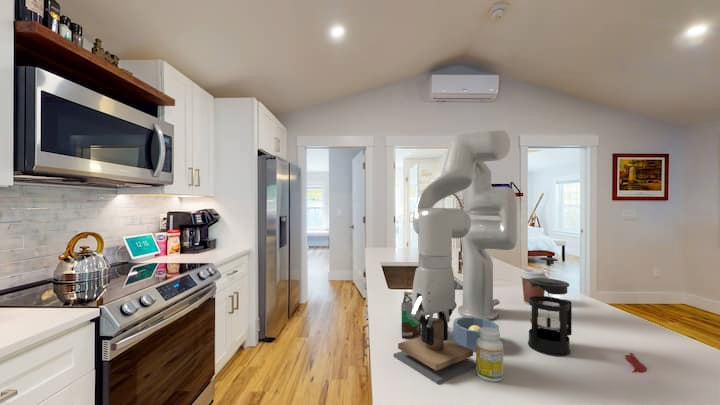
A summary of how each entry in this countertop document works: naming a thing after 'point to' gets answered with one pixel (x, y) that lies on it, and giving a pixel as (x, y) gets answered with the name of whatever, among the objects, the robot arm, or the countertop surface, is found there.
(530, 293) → the coffee cup
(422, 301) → the robot arm
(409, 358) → the mat
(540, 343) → the french press
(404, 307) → the food container
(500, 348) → the supplement bottle
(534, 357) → the countertop surface
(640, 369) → the cayenne pepper
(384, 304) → the countertop surface
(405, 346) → the lid
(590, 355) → the countertop surface
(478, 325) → the bowl
